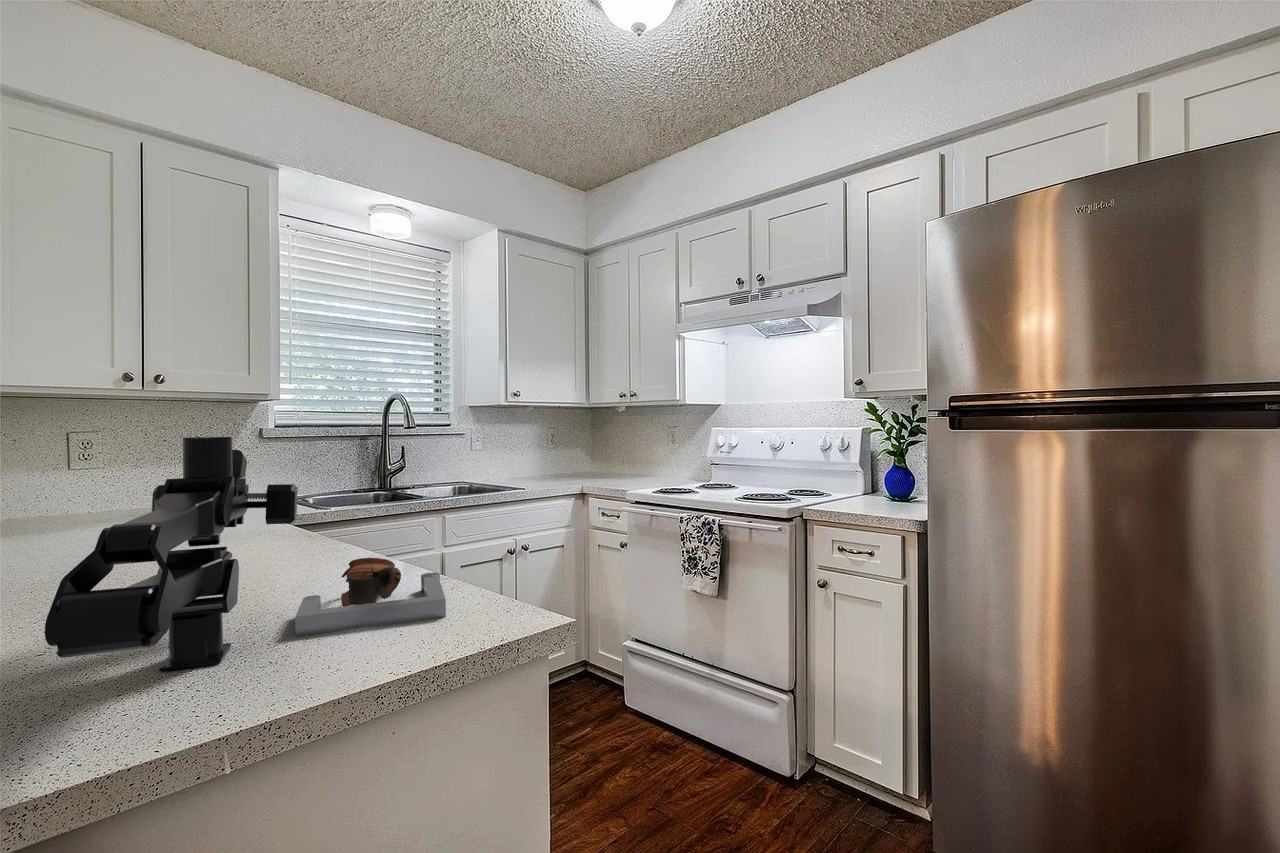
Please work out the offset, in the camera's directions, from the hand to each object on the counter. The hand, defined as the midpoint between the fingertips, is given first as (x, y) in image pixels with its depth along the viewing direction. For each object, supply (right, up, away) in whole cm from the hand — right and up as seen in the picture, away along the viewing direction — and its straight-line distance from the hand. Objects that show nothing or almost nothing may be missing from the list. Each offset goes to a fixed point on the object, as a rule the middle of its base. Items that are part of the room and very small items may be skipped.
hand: (241, 501), depth 104 cm
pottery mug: (+21, -17, +2) cm, 28 cm away
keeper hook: (+24, -17, -3) cm, 30 cm away
